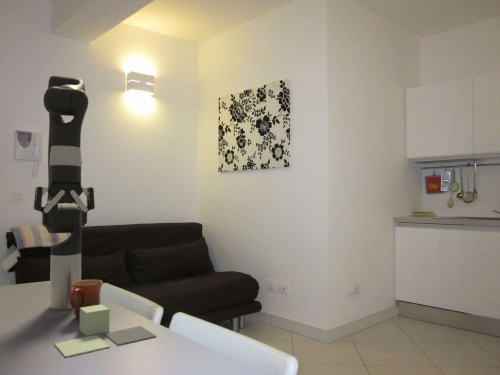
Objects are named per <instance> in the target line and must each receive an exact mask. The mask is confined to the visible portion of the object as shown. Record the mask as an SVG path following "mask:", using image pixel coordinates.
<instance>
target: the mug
mask: <svg viewBox="0 0 500 375" xmlns="http://www.w3.org/2000/svg"><path fill="white" fill-rule="evenodd" d="M103 283H104V281H103V280H101V279H81V281H76V282H73V283H72V287H73V290H72V291H71V293H70V304H71V306H72V309H73V314H74V317H75V318H76V319H78V320H80V308H82V307H88V306H95V305H101V291H102V287H103Z"/></svg>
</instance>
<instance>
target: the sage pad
mask: <svg viewBox="0 0 500 375" xmlns="http://www.w3.org/2000/svg"><path fill="white" fill-rule="evenodd" d="M54 346H55V347H56V348H57V349H58V350H59V352H60V353H61V354H62V355H63V357H64V358H70V357H74V356H79V355H83V354H86V353H92V352H95V351H100V350H104V349H110V348H111V346H110V345H109V344H108V343H107V342H105V341H104V340H103V339H102V338H101V337H100V336H98V335H97V334H93V335H88V336H86V337H85V336H84V337H81V338H80V337H79V338H75V339H70V340H66V341H65V340H64V341H61V342H56V343H54Z"/></svg>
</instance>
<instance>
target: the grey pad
mask: <svg viewBox="0 0 500 375" xmlns="http://www.w3.org/2000/svg"><path fill="white" fill-rule="evenodd" d="M103 334H104V336H105V337H106V338H108V339H109V340H110V341H111V342H113V343H114V344H115V345H116V346H123V345H126V344H131V343H135V342H139V341H140V342H141V341H144V340H149V339H152V338H153V339H154V338H156V337H157V334H155V333H152V332H151V331H150V330H148V329H147V328H144V327H143V326H141V325H138V326H134V327H129V328H128V327H127V328H123V329H120V330H114V331H108V332H103Z"/></svg>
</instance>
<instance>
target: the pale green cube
mask: <svg viewBox="0 0 500 375" xmlns="http://www.w3.org/2000/svg"><path fill="white" fill-rule="evenodd" d="M110 314H111V313H110V308H109V307H108V306H105V305H104V304H102V303H100V305H95V306H88V307H82V308H80V319H79V331H80V332H81V333H83V334H84V335H85V336H86V337H89V336H94V335H97V334H104V333H108V332H110ZM107 331H108V332H107Z"/></svg>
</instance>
